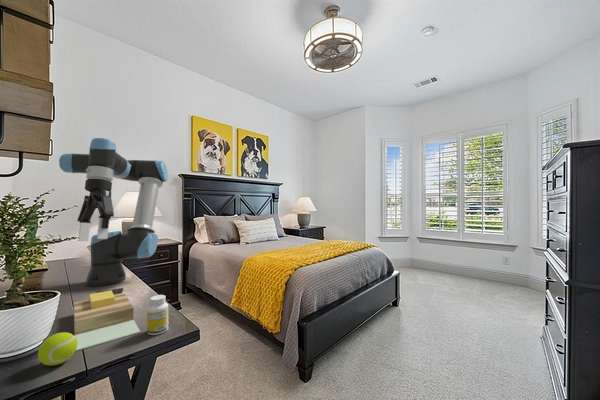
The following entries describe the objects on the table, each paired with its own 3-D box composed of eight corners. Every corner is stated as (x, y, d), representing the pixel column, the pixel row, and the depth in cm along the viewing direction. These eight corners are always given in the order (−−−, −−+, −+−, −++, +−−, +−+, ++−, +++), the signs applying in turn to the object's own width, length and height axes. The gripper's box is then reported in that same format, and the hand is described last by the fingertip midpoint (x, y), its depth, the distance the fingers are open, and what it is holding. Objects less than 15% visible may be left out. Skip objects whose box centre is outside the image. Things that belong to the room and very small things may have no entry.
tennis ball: (73, 351, 64) (73, 324, 64) (80, 361, 60) (80, 332, 60) (35, 364, 59) (35, 335, 59) (40, 376, 55) (40, 345, 55)
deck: (73, 314, 86) (73, 302, 86) (124, 303, 95) (124, 292, 95) (74, 335, 72) (74, 321, 72) (133, 320, 81) (133, 307, 82)
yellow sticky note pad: (89, 300, 87) (89, 294, 87) (111, 296, 91) (111, 290, 91) (91, 308, 80) (91, 301, 80) (114, 303, 84) (114, 297, 84)
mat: (74, 336, 72) (74, 335, 72) (133, 320, 81) (133, 319, 81) (75, 351, 64) (75, 350, 64) (140, 332, 74) (140, 331, 74)
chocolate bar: (123, 287, 111) (119, 301, 96) (123, 290, 111) (119, 304, 96) (96, 291, 107) (88, 306, 91) (96, 293, 107) (88, 309, 91)
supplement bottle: (154, 326, 77) (154, 293, 77) (172, 326, 77) (172, 293, 77) (142, 335, 72) (142, 300, 72) (161, 336, 72) (162, 300, 72)
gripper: (71, 184, 96) (62, 241, 91) (104, 171, 84) (97, 237, 79) (94, 187, 102) (88, 242, 98) (129, 176, 90) (123, 238, 86)
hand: (92, 240), depth 89 cm, fingers open, 13 cm apart
